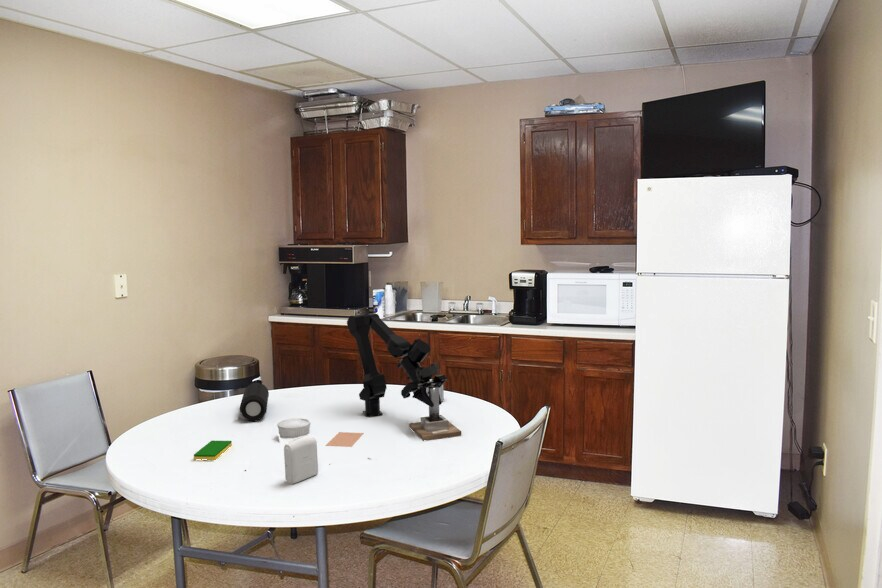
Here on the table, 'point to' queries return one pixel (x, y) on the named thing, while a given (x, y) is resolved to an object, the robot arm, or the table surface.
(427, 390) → the medicine box
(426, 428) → the board
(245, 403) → the portable speaker
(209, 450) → the dish sponge
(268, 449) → the table surface
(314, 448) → the photo printer
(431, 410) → the steel peg
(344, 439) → the peach flat block
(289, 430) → the ramekin
